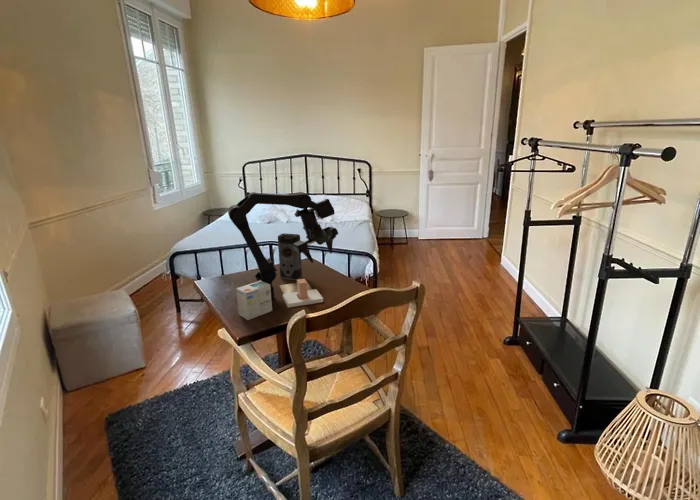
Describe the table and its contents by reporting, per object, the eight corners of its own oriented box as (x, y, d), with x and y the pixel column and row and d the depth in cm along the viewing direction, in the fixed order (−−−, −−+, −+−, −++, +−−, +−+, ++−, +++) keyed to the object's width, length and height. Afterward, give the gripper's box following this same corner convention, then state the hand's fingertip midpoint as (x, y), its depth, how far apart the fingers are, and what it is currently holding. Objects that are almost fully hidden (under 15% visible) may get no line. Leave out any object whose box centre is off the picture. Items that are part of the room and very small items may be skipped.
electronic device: (279, 278, 175) (276, 236, 169) (284, 274, 180) (282, 232, 174) (297, 280, 172) (295, 237, 166) (303, 276, 177) (301, 234, 172)
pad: (284, 295, 157) (284, 293, 156) (279, 286, 166) (279, 285, 165) (312, 291, 161) (312, 289, 160) (306, 282, 170) (306, 281, 169)
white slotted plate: (287, 307, 145) (287, 304, 145) (282, 297, 154) (282, 294, 154) (323, 301, 150) (323, 298, 150) (316, 292, 159) (316, 289, 159)
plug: (300, 302, 150) (299, 283, 148) (297, 298, 154) (296, 279, 151) (307, 301, 151) (307, 282, 149) (305, 297, 155) (304, 278, 152)
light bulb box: (262, 305, 147) (260, 279, 144) (273, 311, 143) (271, 284, 140) (237, 315, 140) (235, 287, 137) (248, 320, 136) (245, 292, 132)
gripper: (299, 235, 141) (311, 272, 147) (339, 216, 150) (350, 252, 155) (286, 231, 151) (299, 266, 156) (325, 213, 159) (336, 247, 165)
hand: (321, 257), depth 158 cm, fingers open, 9 cm apart
